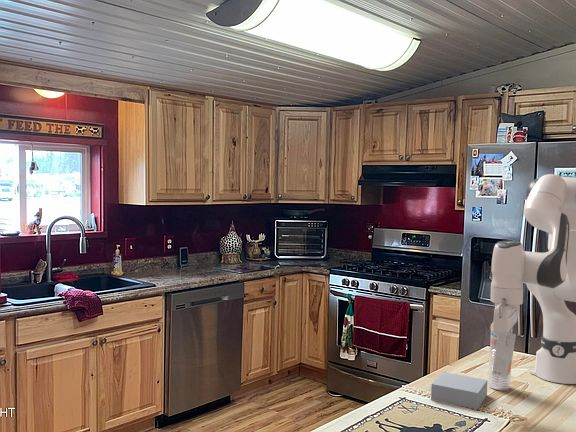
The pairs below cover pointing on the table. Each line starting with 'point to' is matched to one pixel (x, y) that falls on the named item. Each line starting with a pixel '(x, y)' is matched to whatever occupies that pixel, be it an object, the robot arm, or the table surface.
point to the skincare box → (504, 356)
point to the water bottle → (494, 380)
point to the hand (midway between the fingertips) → (504, 343)
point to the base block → (459, 390)
